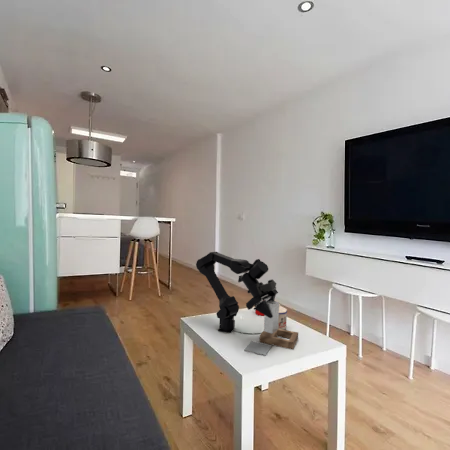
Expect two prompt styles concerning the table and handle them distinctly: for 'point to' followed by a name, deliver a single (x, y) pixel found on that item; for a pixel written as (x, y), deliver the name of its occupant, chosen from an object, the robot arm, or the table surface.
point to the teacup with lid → (282, 318)
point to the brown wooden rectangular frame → (280, 342)
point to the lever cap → (272, 323)
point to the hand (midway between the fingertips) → (274, 315)
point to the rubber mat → (258, 348)
